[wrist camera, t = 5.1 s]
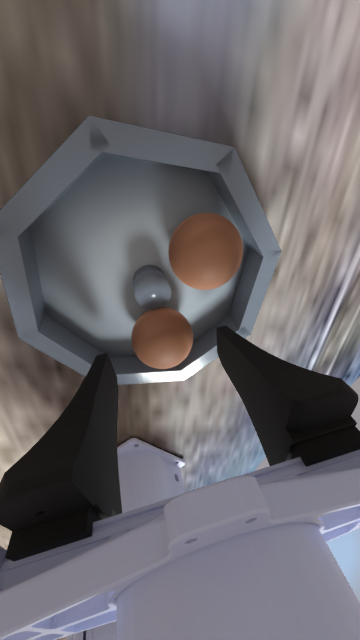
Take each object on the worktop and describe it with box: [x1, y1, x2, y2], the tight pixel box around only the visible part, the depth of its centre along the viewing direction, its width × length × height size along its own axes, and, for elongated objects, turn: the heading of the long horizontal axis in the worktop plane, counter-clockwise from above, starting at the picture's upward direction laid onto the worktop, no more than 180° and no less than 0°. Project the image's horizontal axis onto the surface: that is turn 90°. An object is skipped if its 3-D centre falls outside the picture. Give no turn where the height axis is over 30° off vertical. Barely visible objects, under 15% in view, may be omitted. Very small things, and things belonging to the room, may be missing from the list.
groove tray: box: [0, 116, 281, 385], centre depth 14 cm, size 14×14×3 cm
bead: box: [131, 307, 193, 369], centre depth 14 cm, size 4×4×4 cm
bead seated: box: [168, 212, 243, 290], centre depth 12 cm, size 4×4×4 cm
